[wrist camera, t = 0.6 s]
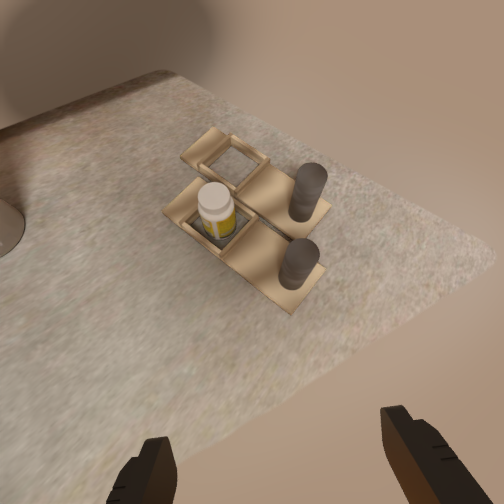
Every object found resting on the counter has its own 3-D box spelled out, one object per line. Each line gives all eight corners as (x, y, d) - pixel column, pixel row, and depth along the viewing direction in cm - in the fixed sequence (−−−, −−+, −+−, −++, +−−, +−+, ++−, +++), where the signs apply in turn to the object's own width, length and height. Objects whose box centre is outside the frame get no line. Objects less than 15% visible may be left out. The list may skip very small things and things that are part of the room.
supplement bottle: (238, 214, 44) (236, 181, 36) (233, 242, 43) (230, 214, 35) (207, 210, 44) (198, 177, 37) (201, 238, 43) (190, 209, 35)
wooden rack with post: (162, 213, 44) (140, 173, 35) (199, 179, 46) (186, 133, 37) (290, 315, 38) (304, 299, 29) (324, 270, 41) (346, 243, 32)
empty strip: (180, 159, 48) (164, 109, 39) (213, 130, 50) (205, 77, 41) (300, 245, 42) (314, 211, 33) (330, 207, 45) (351, 166, 35)
